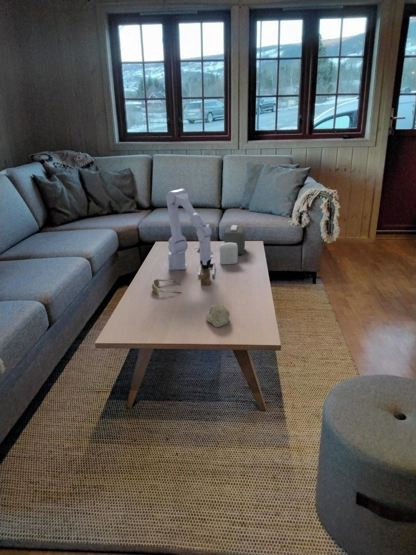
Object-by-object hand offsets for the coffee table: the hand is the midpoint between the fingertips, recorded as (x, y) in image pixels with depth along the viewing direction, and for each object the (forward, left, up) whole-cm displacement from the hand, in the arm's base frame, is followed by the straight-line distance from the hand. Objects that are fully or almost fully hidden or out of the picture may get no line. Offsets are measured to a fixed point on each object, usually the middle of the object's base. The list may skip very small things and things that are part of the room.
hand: (206, 272), depth 220 cm
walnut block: (0, -7, -2) cm, 8 cm away
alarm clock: (+16, +39, -3) cm, 43 cm away
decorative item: (+8, -48, -3) cm, 49 cm away
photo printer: (+12, +19, -3) cm, 23 cm away
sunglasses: (-19, -15, -3) cm, 24 cm away
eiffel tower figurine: (-4, +40, -3) cm, 41 cm away
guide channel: (0, +6, -2) cm, 7 cm away
